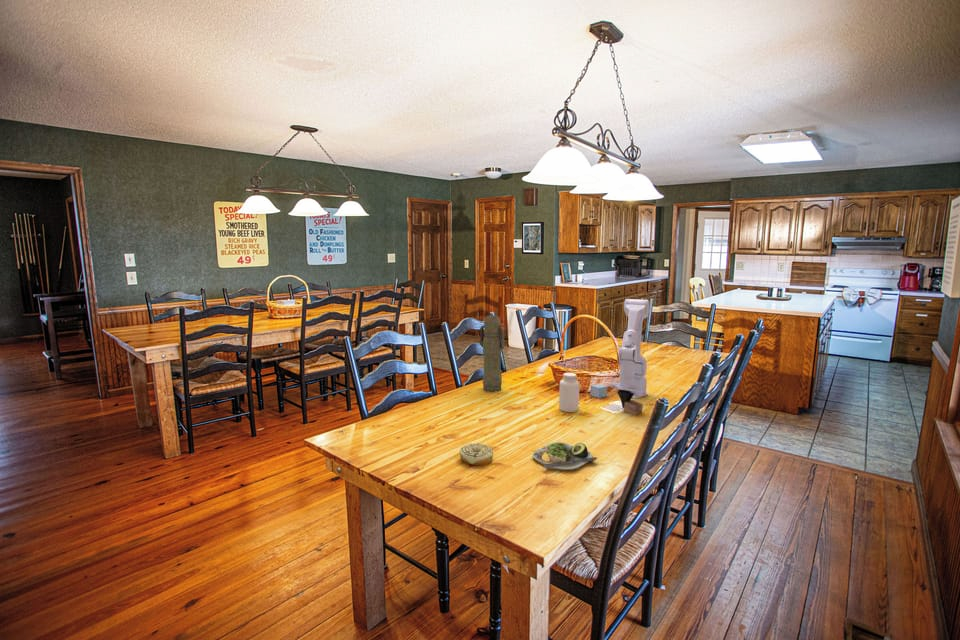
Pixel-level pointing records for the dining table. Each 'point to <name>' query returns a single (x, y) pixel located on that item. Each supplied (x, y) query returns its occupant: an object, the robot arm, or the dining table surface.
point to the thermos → (492, 352)
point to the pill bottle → (569, 393)
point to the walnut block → (633, 407)
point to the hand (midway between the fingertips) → (625, 407)
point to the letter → (614, 407)
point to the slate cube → (598, 390)
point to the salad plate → (564, 456)
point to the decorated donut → (476, 454)
